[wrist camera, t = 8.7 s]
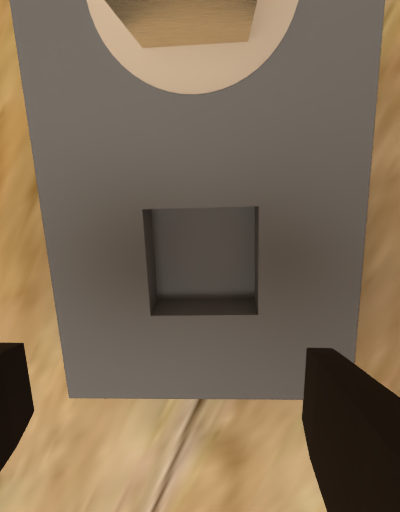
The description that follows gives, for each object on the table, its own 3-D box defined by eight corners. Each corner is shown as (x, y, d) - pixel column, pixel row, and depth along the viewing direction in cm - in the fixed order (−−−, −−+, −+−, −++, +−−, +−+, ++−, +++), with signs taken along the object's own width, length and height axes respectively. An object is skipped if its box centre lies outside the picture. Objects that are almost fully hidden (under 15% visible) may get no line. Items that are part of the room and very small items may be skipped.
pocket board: (375, -192, 14) (409, -267, 12) (336, 371, 21) (352, 402, 18) (16, -158, 15) (-27, -221, 13) (86, 370, 22) (67, 400, 19)
